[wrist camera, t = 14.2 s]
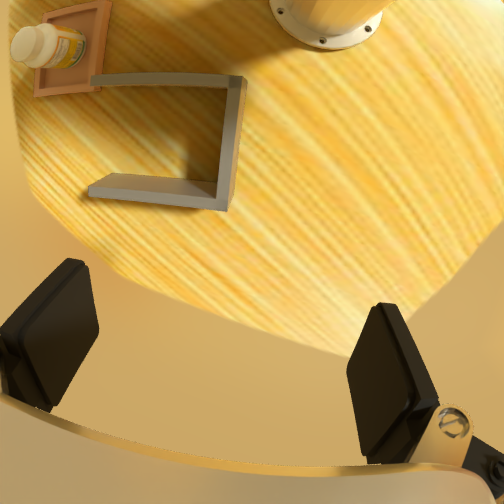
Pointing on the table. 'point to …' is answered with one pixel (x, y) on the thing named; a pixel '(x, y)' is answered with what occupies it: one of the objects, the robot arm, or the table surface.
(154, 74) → the bay
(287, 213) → the table surface
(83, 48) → the supplement bottle
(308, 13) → the robot arm
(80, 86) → the tray
